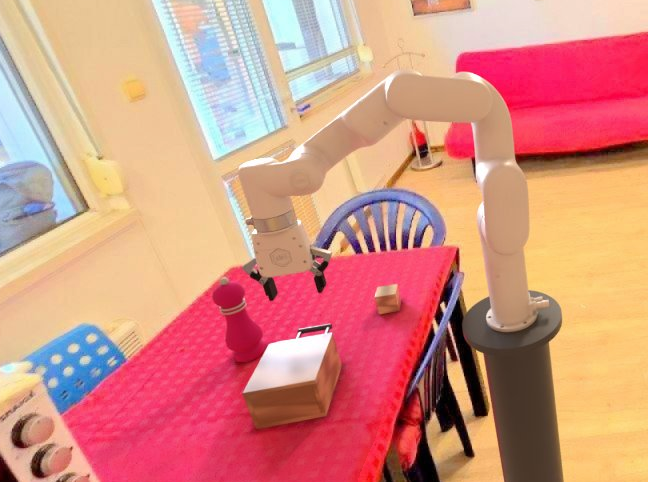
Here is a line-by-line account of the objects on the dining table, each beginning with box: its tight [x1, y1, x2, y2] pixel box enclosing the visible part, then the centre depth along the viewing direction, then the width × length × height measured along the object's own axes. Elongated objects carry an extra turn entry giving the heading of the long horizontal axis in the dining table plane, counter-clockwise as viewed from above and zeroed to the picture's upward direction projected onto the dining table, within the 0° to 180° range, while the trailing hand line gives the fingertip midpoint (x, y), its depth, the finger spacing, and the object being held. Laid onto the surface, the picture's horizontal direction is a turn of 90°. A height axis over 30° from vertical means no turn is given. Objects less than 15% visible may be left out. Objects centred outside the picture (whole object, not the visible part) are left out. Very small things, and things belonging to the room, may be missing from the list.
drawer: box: [275, 323, 337, 345], centre depth 109 cm, size 21×11×7 cm, turn 11°
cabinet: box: [242, 332, 343, 430], centre depth 103 cm, size 15×13×9 cm
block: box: [374, 283, 402, 315], centre depth 132 cm, size 5×5×5 cm
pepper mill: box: [211, 276, 266, 363], centre depth 116 cm, size 7×7×20 cm
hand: (298, 293), depth 110 cm, fingers open, 9 cm apart
